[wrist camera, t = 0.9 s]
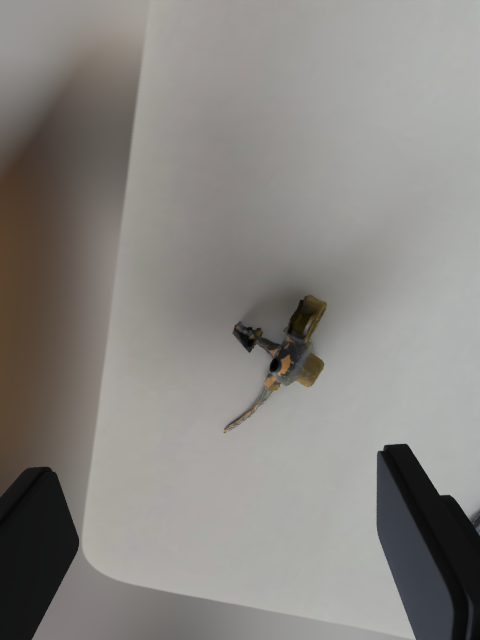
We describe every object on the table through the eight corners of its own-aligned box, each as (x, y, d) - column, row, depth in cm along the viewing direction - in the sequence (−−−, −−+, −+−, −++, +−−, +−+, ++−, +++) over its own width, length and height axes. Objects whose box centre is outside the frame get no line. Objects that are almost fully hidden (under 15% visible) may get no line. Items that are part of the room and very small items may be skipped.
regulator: (260, 441, 32) (363, 320, 25) (242, 469, 29) (357, 337, 22) (198, 390, 33) (281, 261, 26) (175, 410, 30) (262, 268, 23)
